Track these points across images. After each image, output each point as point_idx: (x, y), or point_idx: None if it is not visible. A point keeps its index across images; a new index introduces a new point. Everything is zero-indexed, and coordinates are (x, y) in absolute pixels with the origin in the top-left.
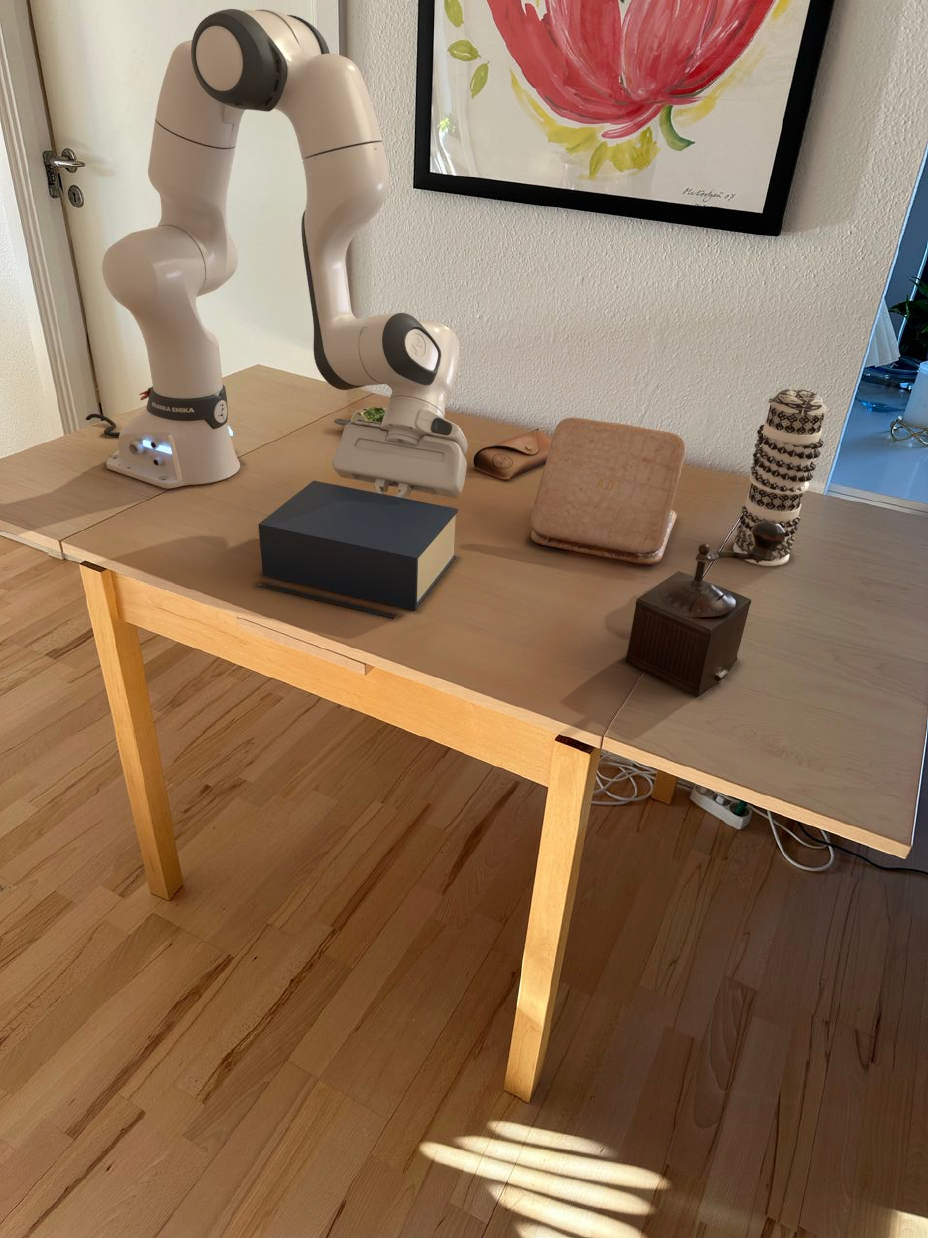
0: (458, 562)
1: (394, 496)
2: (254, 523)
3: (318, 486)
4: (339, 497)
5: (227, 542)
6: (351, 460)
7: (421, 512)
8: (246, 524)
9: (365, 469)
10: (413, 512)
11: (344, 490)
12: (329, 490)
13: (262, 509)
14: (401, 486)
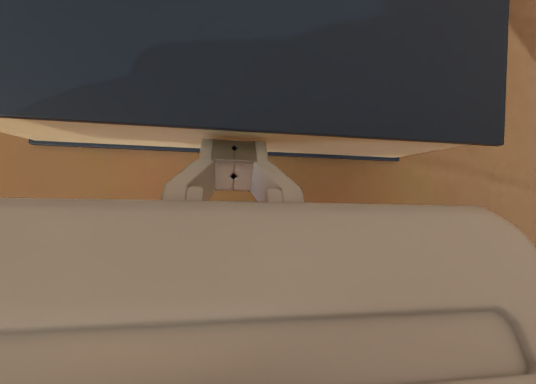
0: None
1: (191, 125)
2: (510, 136)
3: (471, 103)
4: (374, 42)
5: (518, 41)
6: (454, 238)
7: (23, 15)
8: (521, 126)
9: (368, 212)
10: (57, 6)
11: (381, 105)
12: (426, 85)
13: (524, 200)
14: (187, 197)
